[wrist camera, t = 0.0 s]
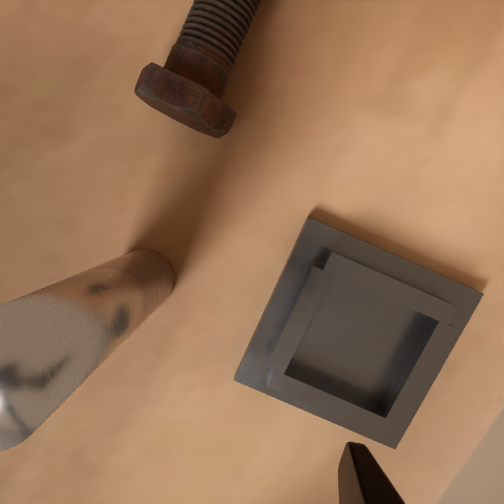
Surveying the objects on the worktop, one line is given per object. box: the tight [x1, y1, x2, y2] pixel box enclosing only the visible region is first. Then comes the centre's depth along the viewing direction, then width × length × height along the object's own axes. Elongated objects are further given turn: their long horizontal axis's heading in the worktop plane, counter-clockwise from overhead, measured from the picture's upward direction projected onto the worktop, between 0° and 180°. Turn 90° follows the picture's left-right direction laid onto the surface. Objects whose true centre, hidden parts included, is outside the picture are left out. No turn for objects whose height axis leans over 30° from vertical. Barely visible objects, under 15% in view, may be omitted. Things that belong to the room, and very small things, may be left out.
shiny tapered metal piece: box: [0, 249, 174, 451], centre depth 17 cm, size 4×4×14 cm
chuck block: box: [234, 217, 483, 449], centre depth 23 cm, size 12×12×2 cm
